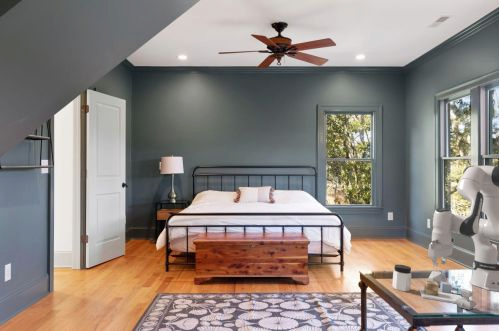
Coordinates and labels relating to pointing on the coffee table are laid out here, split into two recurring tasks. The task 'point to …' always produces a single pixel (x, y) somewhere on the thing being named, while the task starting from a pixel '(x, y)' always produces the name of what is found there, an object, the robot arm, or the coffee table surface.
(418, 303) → the coffee table surface
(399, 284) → the jar
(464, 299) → the stamp
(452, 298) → the board
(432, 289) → the block oak
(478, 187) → the robot arm
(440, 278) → the die
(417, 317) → the coffee table surface
